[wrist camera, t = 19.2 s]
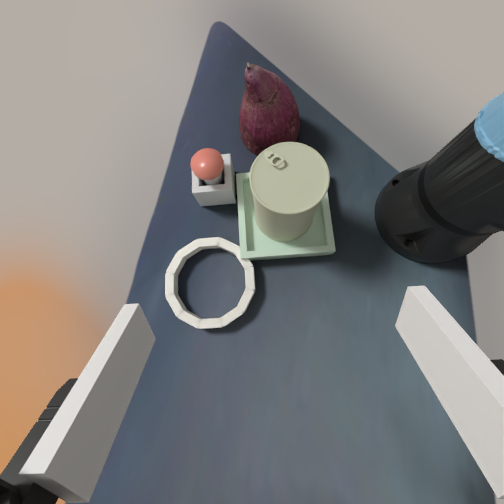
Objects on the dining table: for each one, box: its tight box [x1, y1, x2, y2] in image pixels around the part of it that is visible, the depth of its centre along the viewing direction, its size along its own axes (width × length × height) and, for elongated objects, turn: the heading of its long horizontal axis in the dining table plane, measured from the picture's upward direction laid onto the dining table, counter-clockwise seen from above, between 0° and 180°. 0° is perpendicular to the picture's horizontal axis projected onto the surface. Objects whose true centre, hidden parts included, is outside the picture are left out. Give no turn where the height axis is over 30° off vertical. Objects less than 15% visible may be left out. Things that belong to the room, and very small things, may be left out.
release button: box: [191, 148, 225, 186], centre depth 38 cm, size 5×5×6 cm
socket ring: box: [165, 237, 255, 329], centre depth 38 cm, size 14×14×2 cm
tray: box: [236, 172, 336, 261], centre depth 39 cm, size 14×14×2 cm
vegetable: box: [239, 62, 300, 155], centre depth 38 cm, size 10×10×15 cm
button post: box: [192, 154, 236, 206], centre depth 40 cm, size 6×6×5 cm
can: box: [249, 142, 330, 242], centre depth 33 cm, size 9×9×12 cm
